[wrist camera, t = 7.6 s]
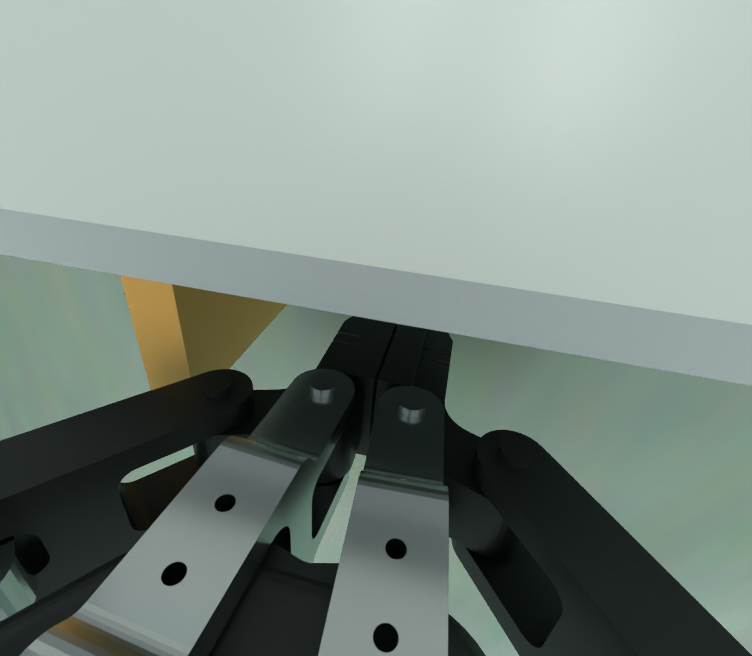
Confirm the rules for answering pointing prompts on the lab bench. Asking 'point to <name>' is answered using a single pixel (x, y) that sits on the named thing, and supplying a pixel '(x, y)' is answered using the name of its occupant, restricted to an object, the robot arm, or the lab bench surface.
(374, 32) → the camera housing
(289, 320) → the lab bench surface
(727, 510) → the lab bench surface
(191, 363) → the side door
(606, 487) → the lab bench surface
